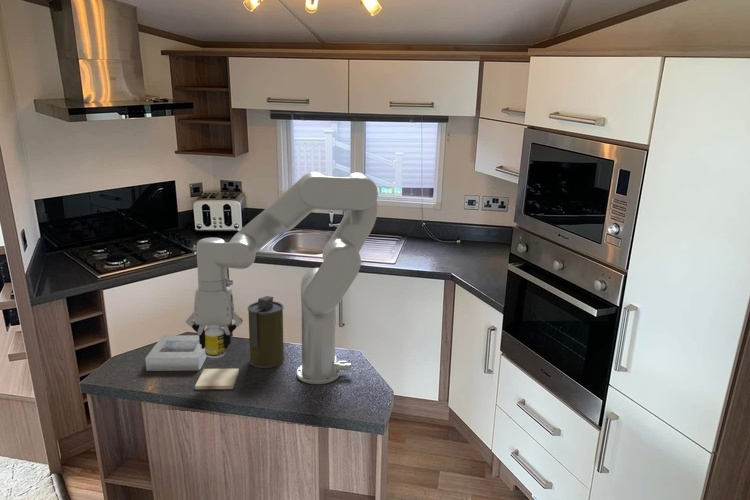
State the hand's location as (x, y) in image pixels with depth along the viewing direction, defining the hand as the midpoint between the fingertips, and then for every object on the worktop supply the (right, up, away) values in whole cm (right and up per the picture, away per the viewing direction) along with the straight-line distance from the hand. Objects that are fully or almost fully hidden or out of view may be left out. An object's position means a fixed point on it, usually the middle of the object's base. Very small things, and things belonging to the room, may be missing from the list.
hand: (215, 346), depth 148 cm
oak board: (0, -10, +3) cm, 10 cm away
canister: (+11, -7, +15) cm, 20 cm away
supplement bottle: (0, -3, +1) cm, 3 cm away
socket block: (-15, -6, +15) cm, 22 cm away
